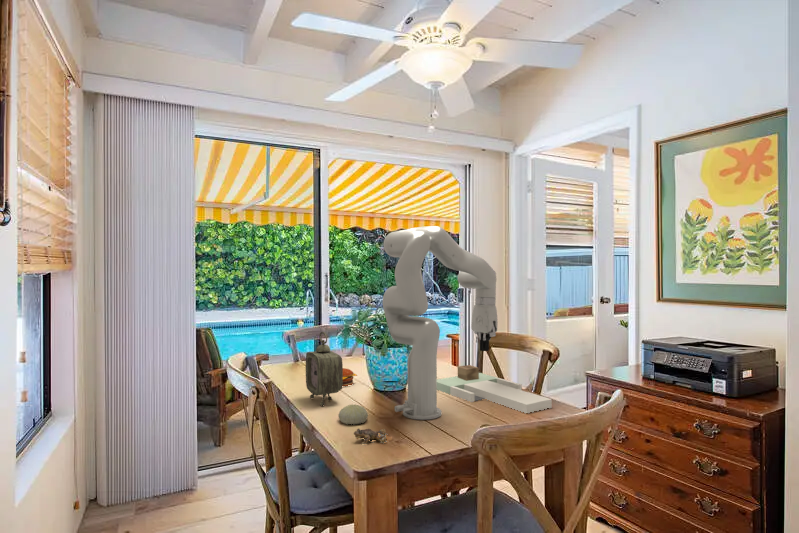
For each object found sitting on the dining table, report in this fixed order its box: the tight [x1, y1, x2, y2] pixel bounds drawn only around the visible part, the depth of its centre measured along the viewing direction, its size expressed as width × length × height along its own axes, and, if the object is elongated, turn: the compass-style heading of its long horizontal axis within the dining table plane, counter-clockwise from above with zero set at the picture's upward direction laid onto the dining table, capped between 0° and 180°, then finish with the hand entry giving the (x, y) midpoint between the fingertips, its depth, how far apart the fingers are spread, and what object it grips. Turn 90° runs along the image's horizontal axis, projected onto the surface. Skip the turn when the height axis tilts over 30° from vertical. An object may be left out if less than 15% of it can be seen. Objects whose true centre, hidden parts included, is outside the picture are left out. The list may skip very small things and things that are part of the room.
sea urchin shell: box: [337, 404, 369, 426], centre depth 153 cm, size 9×8×8 cm
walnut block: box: [457, 364, 480, 381], centre depth 197 cm, size 6×6×4 cm
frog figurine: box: [353, 428, 387, 445], centre depth 137 cm, size 12×12×4 cm
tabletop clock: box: [305, 331, 344, 407], centre depth 175 cm, size 14×9×25 cm, turn 29°
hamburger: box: [342, 367, 358, 386], centre depth 200 cm, size 9×10×7 cm
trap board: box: [437, 372, 553, 414], centre depth 182 cm, size 25×44×3 cm, turn 32°
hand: (484, 350), depth 185 cm, fingers closed
